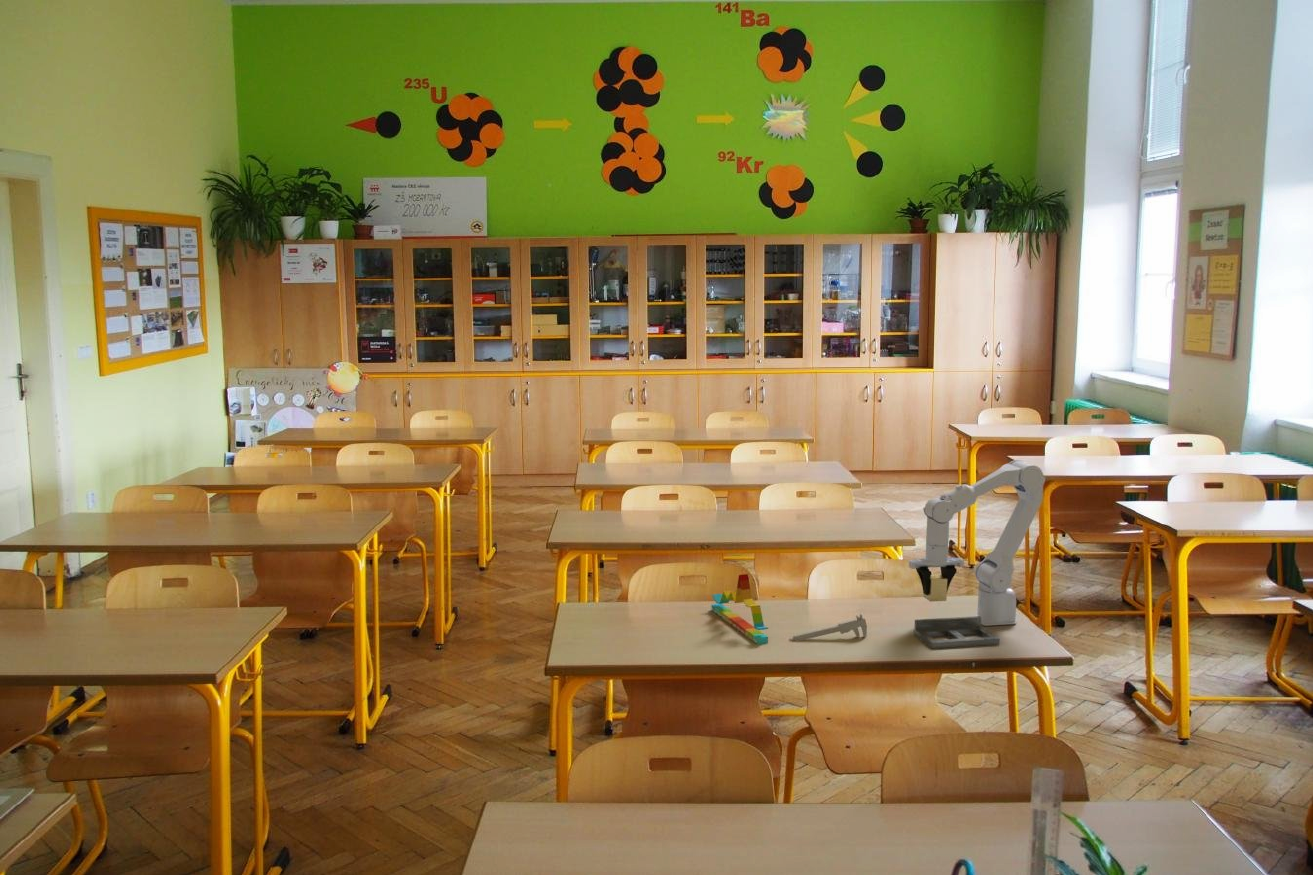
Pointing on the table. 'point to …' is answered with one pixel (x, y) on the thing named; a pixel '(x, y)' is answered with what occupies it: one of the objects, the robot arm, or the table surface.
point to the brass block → (937, 588)
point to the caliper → (836, 629)
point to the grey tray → (953, 632)
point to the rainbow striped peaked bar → (743, 626)
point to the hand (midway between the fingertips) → (935, 593)
